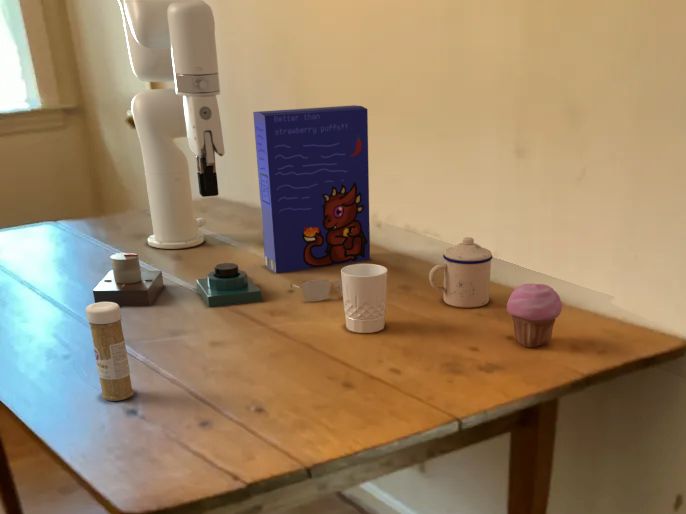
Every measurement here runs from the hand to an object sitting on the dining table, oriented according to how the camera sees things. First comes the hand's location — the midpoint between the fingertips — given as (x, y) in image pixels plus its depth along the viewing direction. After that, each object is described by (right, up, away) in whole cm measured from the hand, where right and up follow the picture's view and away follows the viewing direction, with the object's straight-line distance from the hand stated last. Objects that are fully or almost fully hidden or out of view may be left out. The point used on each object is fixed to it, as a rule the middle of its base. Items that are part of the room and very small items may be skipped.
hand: (209, 195), depth 166 cm
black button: (+2, -14, +5) cm, 15 cm away
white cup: (+29, -27, -8) cm, 40 cm away
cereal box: (+18, -5, +27) cm, 32 cm away
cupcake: (+57, -31, -15) cm, 67 cm away
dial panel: (-16, -17, +7) cm, 24 cm away
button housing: (+2, -17, +7) cm, 18 cm away
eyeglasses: (+21, -16, +9) cm, 28 cm away
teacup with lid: (+46, -19, +4) cm, 50 cm away
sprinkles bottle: (-6, -43, -34) cm, 55 cm away
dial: (-16, -14, +5) cm, 22 cm away
